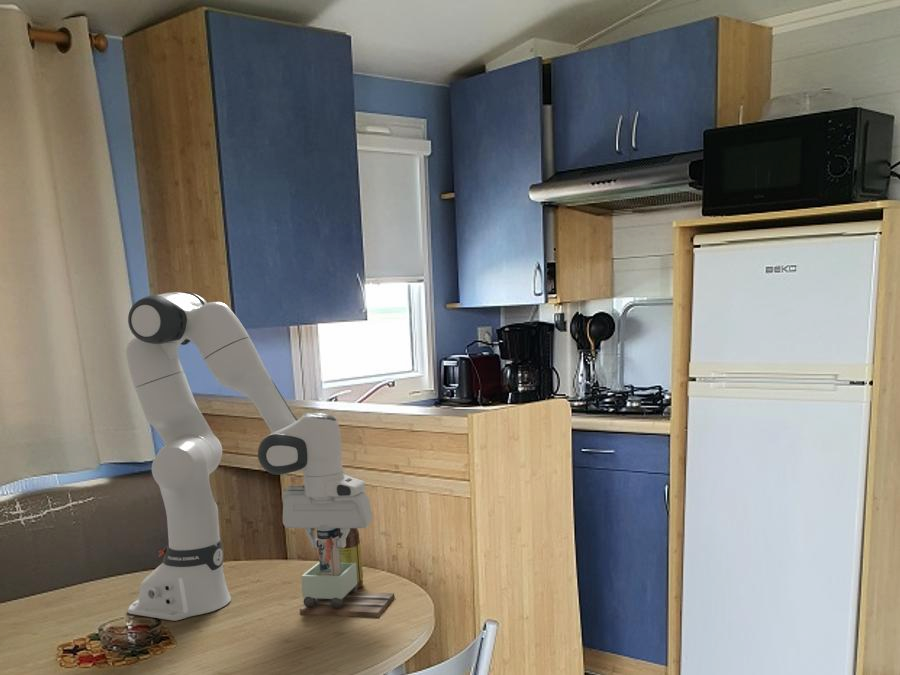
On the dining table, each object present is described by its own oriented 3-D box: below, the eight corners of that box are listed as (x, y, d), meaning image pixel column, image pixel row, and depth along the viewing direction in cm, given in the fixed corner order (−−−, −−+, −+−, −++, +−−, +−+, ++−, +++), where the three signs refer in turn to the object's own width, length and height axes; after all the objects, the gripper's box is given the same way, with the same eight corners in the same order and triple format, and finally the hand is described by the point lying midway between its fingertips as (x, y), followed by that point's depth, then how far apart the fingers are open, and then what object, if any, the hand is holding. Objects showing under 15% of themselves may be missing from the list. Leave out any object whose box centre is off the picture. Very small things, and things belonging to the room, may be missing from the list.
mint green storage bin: (302, 607, 161) (301, 576, 161) (320, 591, 170) (318, 561, 170) (342, 609, 159) (340, 577, 159) (358, 592, 168) (356, 562, 168)
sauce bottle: (350, 580, 180) (345, 499, 180) (369, 584, 176) (364, 502, 176) (330, 589, 175) (325, 505, 174) (349, 593, 171) (344, 508, 171)
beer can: (315, 577, 165) (311, 524, 164) (332, 570, 168) (328, 518, 168) (329, 581, 161) (324, 527, 161) (346, 574, 165) (342, 521, 164)
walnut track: (300, 613, 161) (299, 607, 161) (320, 594, 171) (320, 588, 171) (378, 617, 156) (377, 610, 156) (394, 597, 167) (394, 591, 167)
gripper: (275, 489, 164) (279, 551, 164) (361, 488, 159) (366, 552, 159) (288, 482, 170) (292, 542, 170) (371, 481, 165) (376, 543, 165)
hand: (328, 547), depth 165 cm, fingers closed on beer can, 5 cm apart
